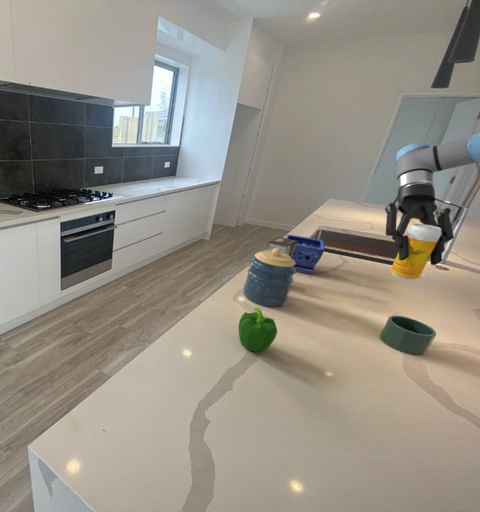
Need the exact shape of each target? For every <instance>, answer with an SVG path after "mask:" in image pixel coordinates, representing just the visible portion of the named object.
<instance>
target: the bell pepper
mask: <svg viewBox="0 0 480 512" xmlns="http://www.w3.org/2000/svg"><path fill="white" fill-rule="evenodd" d="M253 310H254V311H253V312H244V313H243V314H242V315H241V317H240V318H239V323H238V337H239V341H240V343H241V346H242V347H243V348H245V349H246V350H249V351H251V352H259V351H266V350H268V349H269V347H270V346H271V345H272V343H274V341H275V339H276V337H277V334H278V327H277V325H276V323H275V320H274V319H273V318H270V317H265V316H263V313H262V310H261V309H260V308H259V307H257V306H254V307H253Z"/></svg>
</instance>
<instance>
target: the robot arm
mask: <svg viewBox="0 0 480 512" xmlns="http://www.w3.org/2000/svg"><path fill="white" fill-rule="evenodd" d="M395 160H396V161H395V171H396V190H397V195H396V197H397V203H394V202H391V203H389V204H388V205H386V206H385V208H384V210H385V212H386V213H385V214H386V222H385V223H386V224H385V236H387V237H390V236H391V240H392V241H394V247H395V248H396V249H398V252H399V260H402V261H403V260H404V259H406V258H407V257H409V248H408V236H406V235H407V234H406V235H405V233H406V231H407V228H408V226H409V224H410V222H411V219H412V220H413V219H416V220H419V222H420V224H425V225H431V226H435V227H439V228H441V233H442V234H441V236H440V238H439V239H438V241H437V243H436V245H435V247H434V249H433V251H432V253H431V255H430V257H429V259H430V260H429V261H430V265H431V266H436V265H438V264H440V263H442V262H443V255H442V253H444V252H445V250H446V248H445V244H446V243H448V242H450V241H452V240H453V239H454V238H455V236H454V232H453V231H454V230H453V227H452V223H451V218H450V213H451V210H452V209H451V208H449V207H446V208H441V207H438V206H437V204H436V192H435V191H436V190H435V189H436V188H435V179H434V178H435V177H434V173H437V172H441V171H445V170H449V169H450V170H451V169H455V168H459V167H463V166H467V165H472V164H480V133H479V132H478V133H474V134H472V135H470V136H466V137H462V138H458V139H455V140H451V141H449V142H445V143H441V144H438V145H433V146H430V144H428V143H426V142H420V143H415V142H414V143H411V144H407V145H405V146H404V147H402V148H401V149H399V151H397V153H396V159H395ZM398 211H399V212H400V213H401V214H402V215H401V217H400V221H399V223H398V225H397V220H398V219H397V218H398ZM434 213H435V214H434ZM435 218H436V219H435Z"/></svg>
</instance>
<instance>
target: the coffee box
mask: <svg viewBox="0 0 480 512" xmlns="http://www.w3.org/2000/svg"><path fill="white" fill-rule="evenodd" d="M296 243H297V241H295V240H291V239H287V238H286V237H283V236H277V237H275V238H272V239H271V240H269V241H268V244H267V248H266V250H271V251H272V250H273V249H274V248H279V249H281V251H282V253H284V254H287V255H289V256H290V257H291V258H292V256H293V253H294V250H295V247H296Z"/></svg>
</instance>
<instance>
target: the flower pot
mask: <svg viewBox="0 0 480 512" xmlns="http://www.w3.org/2000/svg"><path fill="white" fill-rule="evenodd" d="M285 238H287V239H291V240H295V241H297V243H296V247H295V250H294V253H293V256H292V259H293V260H294V261H295V262H296V264H295V265H294V267H295V268H296V272H299V273H303V274H312V273H313V272H314V271H315V266H316V265H317V264H318V263H319V261H320V260H321V258H322V256H323V254H324V252H325V249H326V248H325V241H324V240H323V239H318V238H313V237H307V236H301V235H293V234H286V235H285Z"/></svg>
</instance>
